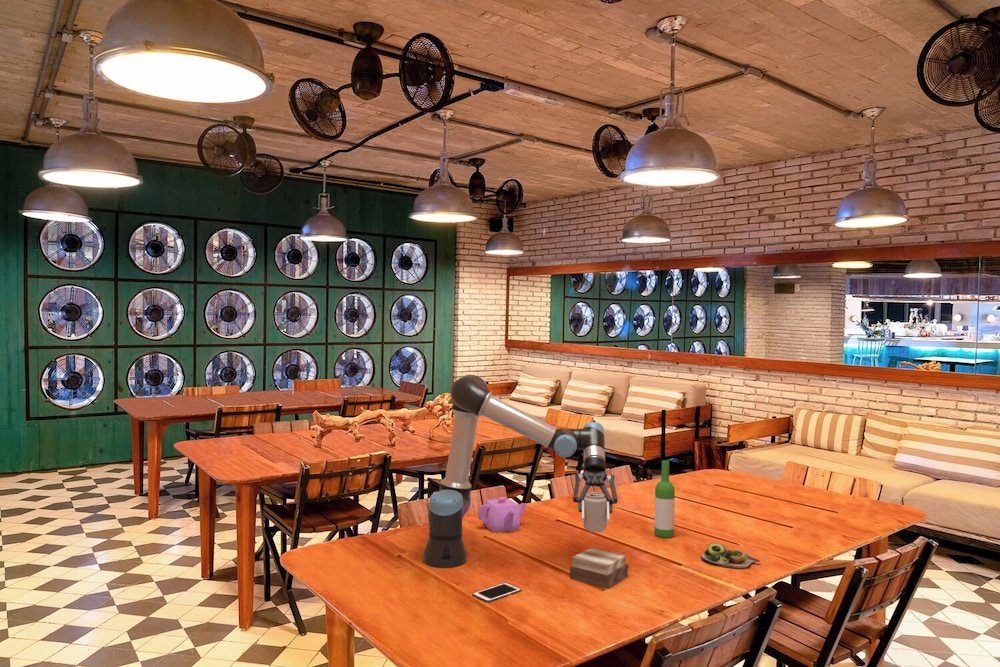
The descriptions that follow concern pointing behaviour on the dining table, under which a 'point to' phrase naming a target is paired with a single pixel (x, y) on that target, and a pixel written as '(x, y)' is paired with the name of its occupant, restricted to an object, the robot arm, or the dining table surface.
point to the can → (595, 512)
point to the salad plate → (726, 557)
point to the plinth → (598, 576)
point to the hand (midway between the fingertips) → (595, 520)
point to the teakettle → (501, 514)
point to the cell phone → (496, 592)
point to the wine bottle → (664, 505)
